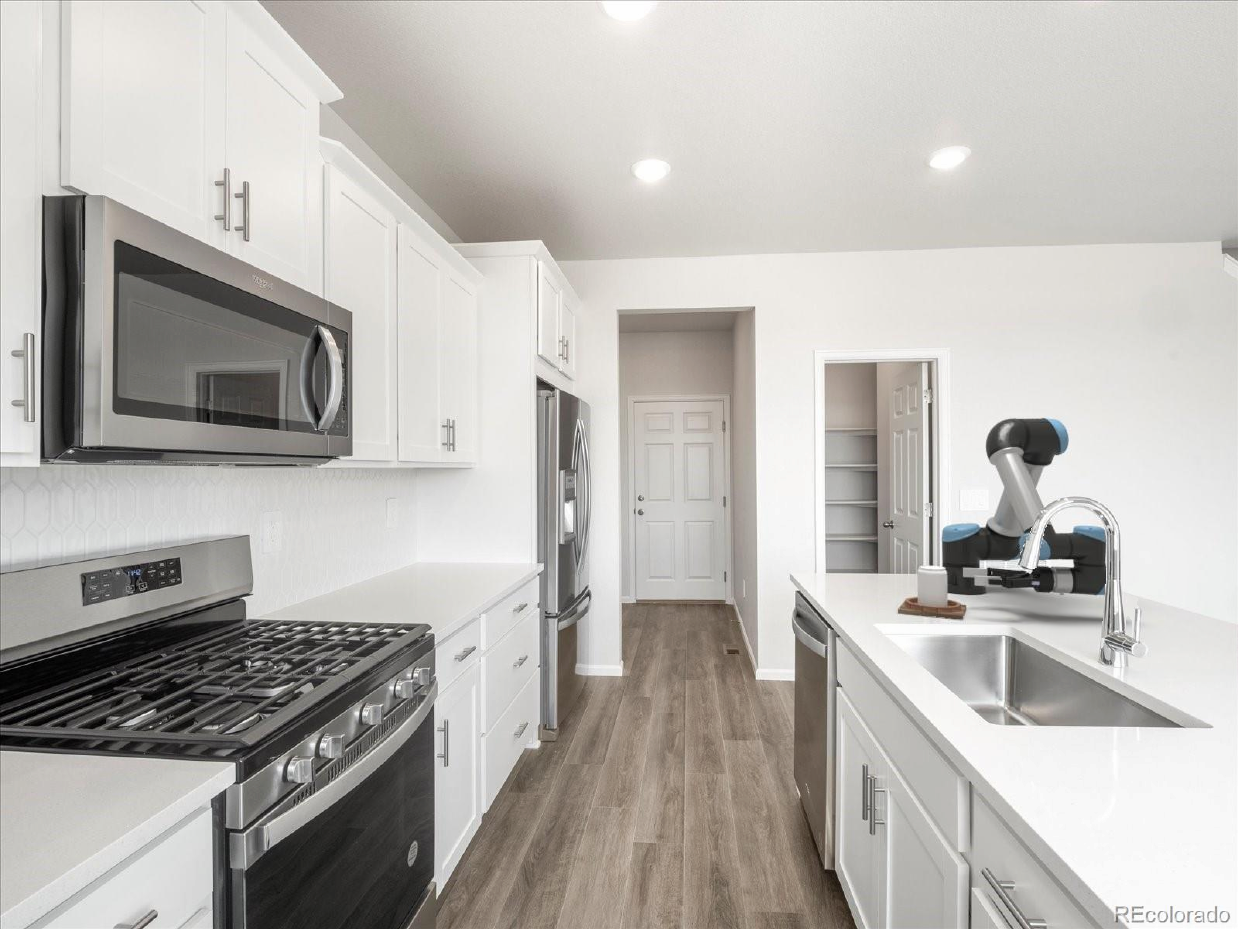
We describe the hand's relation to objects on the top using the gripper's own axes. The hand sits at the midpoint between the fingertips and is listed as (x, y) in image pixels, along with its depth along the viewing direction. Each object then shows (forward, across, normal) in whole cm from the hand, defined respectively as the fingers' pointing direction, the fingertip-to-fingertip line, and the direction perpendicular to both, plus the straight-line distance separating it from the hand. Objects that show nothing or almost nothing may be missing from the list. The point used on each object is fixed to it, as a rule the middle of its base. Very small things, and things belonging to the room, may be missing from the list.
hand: (968, 576), depth 191 cm
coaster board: (+10, 0, -11) cm, 15 cm away
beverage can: (+10, 0, -10) cm, 14 cm away
